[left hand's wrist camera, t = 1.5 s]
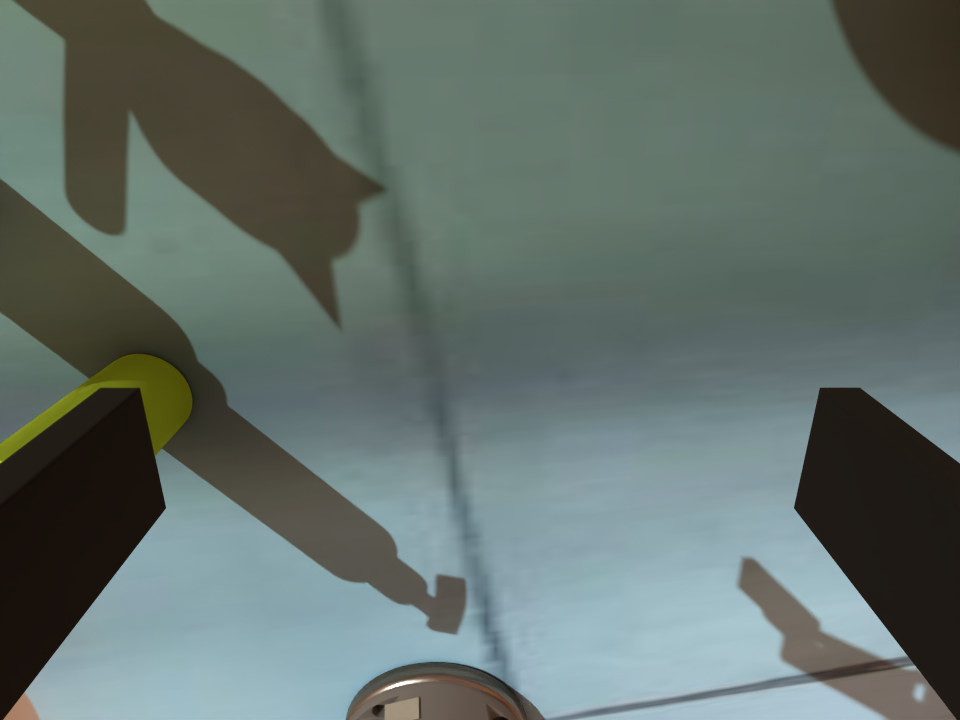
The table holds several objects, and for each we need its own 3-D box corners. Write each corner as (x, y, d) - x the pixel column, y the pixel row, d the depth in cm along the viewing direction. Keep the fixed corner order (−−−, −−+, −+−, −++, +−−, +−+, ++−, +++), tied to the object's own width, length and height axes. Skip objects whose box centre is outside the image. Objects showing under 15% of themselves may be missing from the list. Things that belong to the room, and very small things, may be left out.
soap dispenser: (194, 347, 41) (-41, 555, 23) (191, 441, 44) (-23, 696, 25) (100, 330, 41) (-219, 528, 22) (102, 426, 43) (-181, 674, 25)
